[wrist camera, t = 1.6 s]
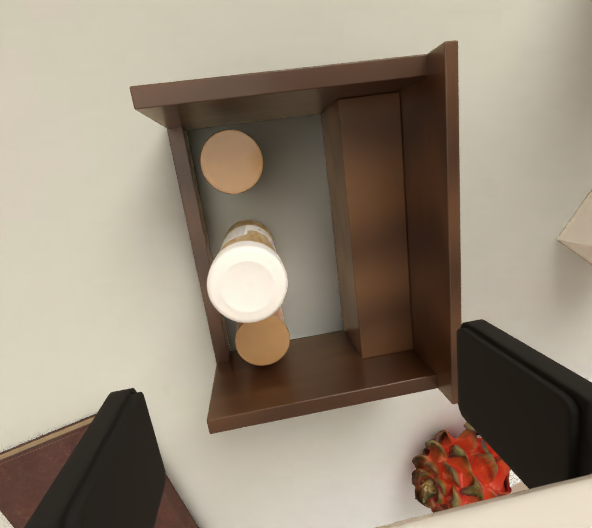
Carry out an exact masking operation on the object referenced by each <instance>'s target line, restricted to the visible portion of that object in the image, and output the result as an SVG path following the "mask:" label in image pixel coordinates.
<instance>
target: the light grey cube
mask: <svg viewBox="0 0 592 528" xmlns="http://www.w3.org/2000/svg"><path fill="white" fill-rule="evenodd" d="M557 240H558V241H560V242H561V243H563V244H564V245H565V246H567V247H568V248H570V249H571V250H572V251H574V252H575V253H577V254H578V255H580V256H581V257H582V258H584V259H585V260H587V261H588V262H589V263H591V264H592V190H591V192H590V193H589V195H588V196H587V197H586V199H585V200H584V202H583V203H582V204H581V206H580V207H579V209H578V210H577V211H576V213H575V214H574V216H573V217H572V219H571V220H570V221H569V223H568V224H567V226H566V227H565V228H564V230H563V231H562V233H561V234H560V236H559V237H558V238H557Z"/></svg>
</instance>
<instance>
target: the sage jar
mask: <svg viewBox="0 0 592 528" xmlns="http://www.w3.org/2000/svg"><path fill="white" fill-rule="evenodd" d="M200 164H201V169H202V172H203V175H204V176H205V178H206V180H207V181H208V182H209V183H210V184H211V185H212V186H213V187H214V188H216V189H217V190H219V191H221V192H224V193H228V194H238V193H243V192H245V191H247V190H249V189H250V188H252V187H253V186H254V185H255V184H256V183H257V182H258V180H259V178H260V176H261V174H262V170H263V156H262V153H261V150H260V148H259V146H258V144H257V143H256V142H255V141H254V139H253V138H251V137H250V136H249V135H247V134H246V133H244V132H241V131H238V130H232V129H228V130H222V131H219V132H217V133H215V134H214V135H212V136H211V137H210V138H209V139H208V140H207V141H206V143H205V144H204V146H203V148H202V151H201V156H200Z"/></svg>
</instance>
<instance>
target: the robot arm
mask: <svg viewBox="0 0 592 528" xmlns="http://www.w3.org/2000/svg"><path fill="white" fill-rule="evenodd" d="M456 340H457V377H458V406H459V410H460V412H461V414H462V416H463V417H464V419H465V420H466V421H467V422H468V423H469V424H470V425H471V426H472V427H473V428H474V430H475V431H476V432H477V433H478V434H479V435H480V436H481V437H482V438H483V439H484V440H485V441H486V443H487V444H488V445H489V446H490V447H491V448H492V449H493V450H494V451H495V452H496V453H497V454H498V456H499V457H500V458H501V459H502V460H503V461H504V462H505V463H506V464H507V465H508V466H509V467H510V469H511V470H512V471H513V472H514V473H515V474H516V475H517V476H518V477H519V478H520V479H521V480H522V482H523V483H524V484H525V485H526V486H527V487H528V488H529V489H528V490H524V491H520V492H516V493H512V494H507V495H503V496H499V497H495V498H491V499H487V500H483V501H479V502H475V503H471V504H467V505H463V506H459V507H455V508H451V509H447V510H443V511H439V512H435V513H431V514H427V515H423V516H419V517H415V518H411V519H407V520H403V521H399V522H395V523H392V524H388V525H384V526H380V527H376V528H592V383H591V382H590V381H588V380H586V379H585V378H583V377H581V376H579V375H578V374H576V373H574V372H572V371H571V370H569V369H567V368H566V367H564V366H562V365H560V364H559V363H557V362H555V361H554V360H552V359H550V358H548V357H547V356H545V355H543V354H542V353H540V352H538V351H536V350H535V349H533V348H531V347H530V346H528V345H526V344H524V343H523V342H521V341H519V340H518V339H516V338H514V337H512V336H511V335H509V334H507V333H505V332H504V331H502V330H500V329H499V328H497V327H495V326H493V325H492V324H490V323H488V322H487V321H485V320H482V319H481V320H475V321H470V322H465V323H463V324H462V325H461V327H460V329H458V330H457V333H456ZM165 481H166V475H165V469H164V465H163V462H162V458H161V455H160V451H159V447H158V444H157V440H156V437H155V433H154V430H153V426H152V423H151V419H150V416H149V412H148V408H147V405H146V401H145V398H144V395H143V393H142V392H138V393H137V392H136V390H135V389H134V388H131V389H126V390H121V391H115V392H111V393H110V394H109V395H108V397H107V399H106V400H105V402H104V403H103V405H102V406H101V408H100V409H99V411H98V413H97V414H96V416H95V417H94V419H93V420H92V422H91V424H90V425H89V427H88V428H87V430H86V431H85V433H84V435H83V436H82V438H81V439H80V441H79V442H78V444H77V445H76V447H75V449H74V450H73V452H72V453H71V455H70V456H69V458H68V460H67V461H66V463H65V464H64V466H63V467H62V469H61V471H60V472H59V474H58V475H57V477H56V478H55V480H54V481H53V483H52V485H51V486H50V488H49V489H48V491H47V492H46V494H45V496H44V497H43V499H42V500H41V502H40V503H39V505H38V507H37V508H36V510H35V511H34V513H33V514H32V516H31V517H30V519H29V521H28V522H27V524H26V525H25V527H24V528H154V525H155V521H156V518H157V514H158V510H159V506H160V502H161V499H162V495H163V491H164V487H165Z"/></svg>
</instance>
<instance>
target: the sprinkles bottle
mask: <svg viewBox="0 0 592 528" xmlns="http://www.w3.org/2000/svg"><path fill="white" fill-rule="evenodd" d="M287 289H288V279H287V274H286V270H285V267H284V265H283V263H282V261H281V259H280V257H279V256H278V255H277V252H276V249H275V245H274V240H273V237H272V234H271V233H270V231H269V230H268V229H267V227H265V226H264V225H263V224H261V223H260V222H257V221H253V220H244V221H240V222H237V223H236V224H235V225H233V226H232V227H231V228H230V229H229V230H228V232H227V234H226V236H225V240H224V242H223V244H222V247H221V249H220V251H219V254H218V255H217V256H216V258H215V259H214V261H213V263H212V265H211V267H210V270H209V274H208V278H207V291H208V295H209V298H210V300H211V302H212V304H213V306H214V307H215V308H216V309H217V310H218V311H219V312H220V313H221V314H222V315H223V316H225V317H227V318H229V319H231V320H233V321H237V322H242V323H252V322H258V321H261V320H264V319H266V318H268V317H269V316H271V315H272V314H274V313H275V312H276V311H277V310H278V309H279V307H280V306H281V305H282V303H283V301H284V299H285V297H286V294H287Z"/></svg>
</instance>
